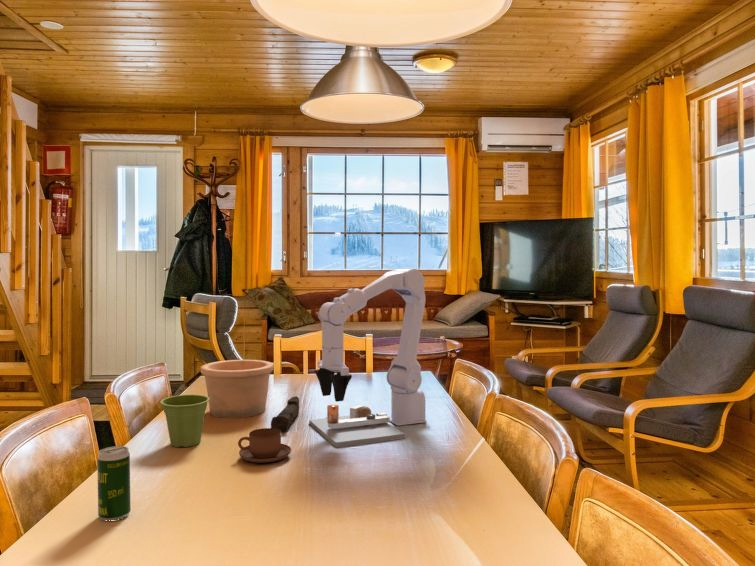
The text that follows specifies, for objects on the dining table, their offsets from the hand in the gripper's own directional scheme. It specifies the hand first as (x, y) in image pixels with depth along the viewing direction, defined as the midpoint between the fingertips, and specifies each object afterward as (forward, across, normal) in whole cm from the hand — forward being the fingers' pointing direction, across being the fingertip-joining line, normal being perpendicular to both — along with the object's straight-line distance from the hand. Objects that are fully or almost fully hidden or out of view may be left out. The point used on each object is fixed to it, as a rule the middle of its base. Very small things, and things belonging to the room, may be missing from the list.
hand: (332, 398), depth 158 cm
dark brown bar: (+10, -18, -6) cm, 21 cm away
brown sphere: (+9, -5, +13) cm, 16 cm away
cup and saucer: (+10, +9, -22) cm, 26 cm away
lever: (+8, 0, +7) cm, 11 cm away
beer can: (+10, +25, -57) cm, 63 cm away
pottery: (+10, -37, -14) cm, 41 cm away
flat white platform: (+10, 0, +7) cm, 12 cm away
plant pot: (+10, -12, -36) cm, 39 cm away
